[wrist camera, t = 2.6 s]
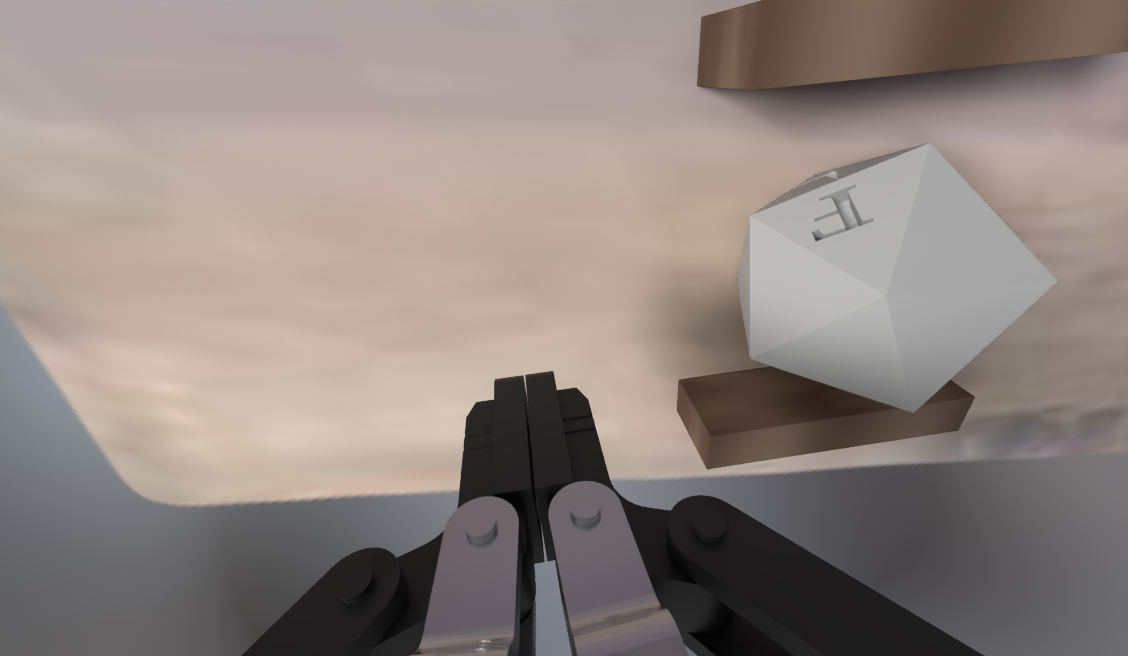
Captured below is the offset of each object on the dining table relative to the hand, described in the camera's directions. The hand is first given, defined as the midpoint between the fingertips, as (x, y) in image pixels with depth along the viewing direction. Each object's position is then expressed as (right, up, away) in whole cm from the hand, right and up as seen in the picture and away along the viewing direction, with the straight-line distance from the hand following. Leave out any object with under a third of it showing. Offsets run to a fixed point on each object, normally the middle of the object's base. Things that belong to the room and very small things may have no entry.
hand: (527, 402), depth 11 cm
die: (+11, +6, +8) cm, 15 cm away
